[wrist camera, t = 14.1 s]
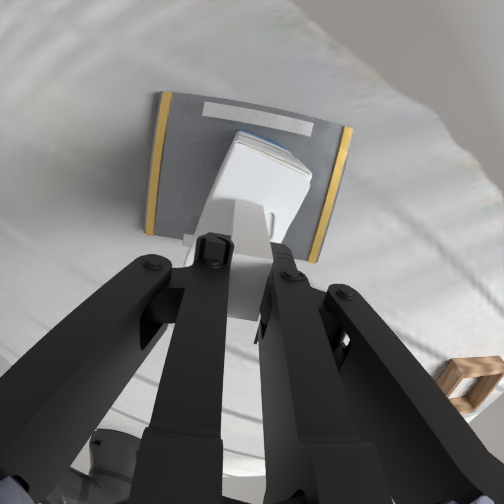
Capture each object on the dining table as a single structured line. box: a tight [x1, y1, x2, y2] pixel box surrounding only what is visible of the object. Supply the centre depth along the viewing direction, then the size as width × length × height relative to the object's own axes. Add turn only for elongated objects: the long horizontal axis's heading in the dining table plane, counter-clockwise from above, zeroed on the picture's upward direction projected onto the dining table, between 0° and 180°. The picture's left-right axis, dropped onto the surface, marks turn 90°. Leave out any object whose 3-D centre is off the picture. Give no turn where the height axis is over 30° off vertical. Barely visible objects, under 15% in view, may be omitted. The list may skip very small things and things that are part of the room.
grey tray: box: [144, 91, 355, 263], centre depth 27 cm, size 18×14×4 cm
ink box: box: [183, 130, 312, 267], centre depth 23 cm, size 8×5×12 cm, turn 156°
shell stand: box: [435, 356, 504, 414], centre depth 43 cm, size 16×12×4 cm
